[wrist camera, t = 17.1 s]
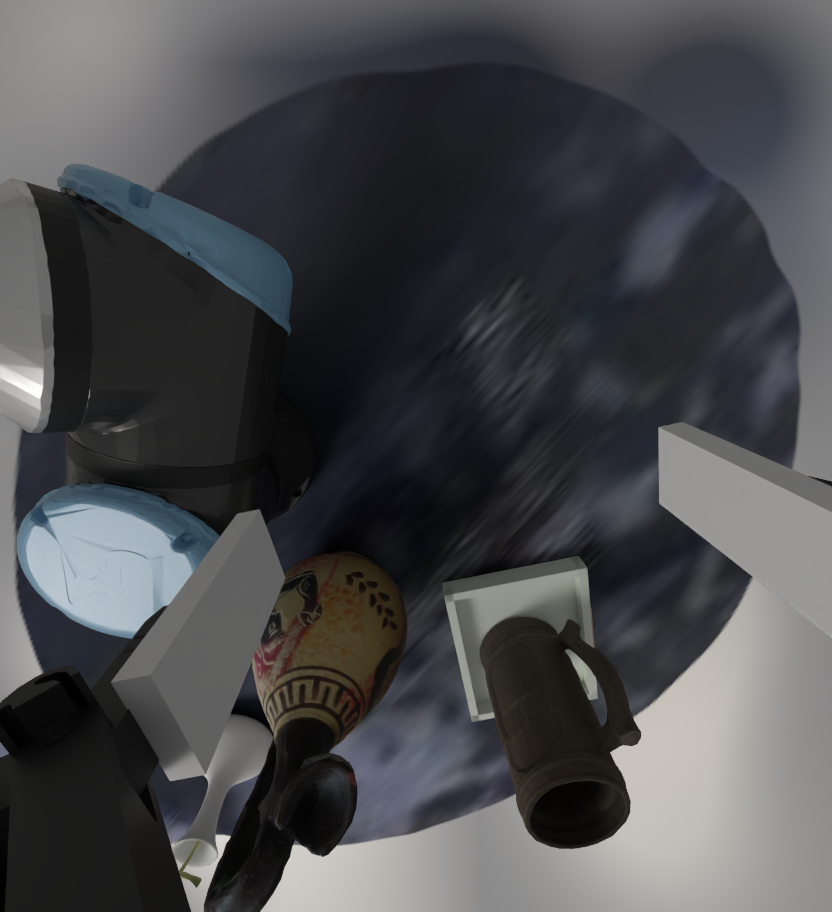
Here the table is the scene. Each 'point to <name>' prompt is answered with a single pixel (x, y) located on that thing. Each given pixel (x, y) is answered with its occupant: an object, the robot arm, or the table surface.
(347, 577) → the ceramic jug
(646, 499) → the table surface
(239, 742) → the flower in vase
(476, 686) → the tray
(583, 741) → the beer stein
